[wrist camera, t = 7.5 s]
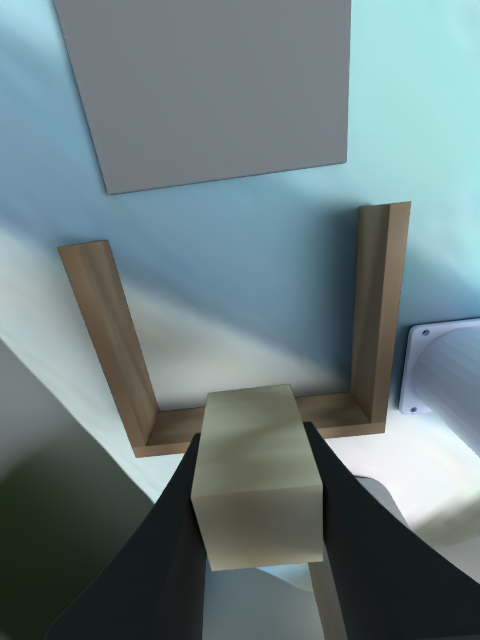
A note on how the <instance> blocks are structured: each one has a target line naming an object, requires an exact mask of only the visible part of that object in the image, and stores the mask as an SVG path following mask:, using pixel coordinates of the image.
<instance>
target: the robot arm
mask: <svg viewBox="0 0 480 640" xmlns="http://www.w3.org/2000/svg"><path fill="white" fill-rule="evenodd" d="M424 330H426V331H425V333H423V331H424ZM422 333H423V334H422ZM399 411H400V412H401V413H402V414H404V415H408V414H418V413H427V412H434V413H435V414H436V415H437V416H438V417H439V418H440V419H441V420H442V421H443V422H444V423H445V424H446V425H447V426H448V427H449V428H450V429H451V430H452V431H453V432H454V433H455V434H456V435H457V436H458V437H459V438H460V439H461V440H462V441H463V442H464V443H465V444H466V445H467V446H468V447H470V448H471V449H472V450H473V451H474V452H475V453H476V454H477V455H478V456H479V457H480V318H478V319H469V320H460V321H451V322H443V323H434V324H425V325H417V326H414V327H412V328H411V329H410V331H409V336H408V343H407V351H406V358H405V365H404V373H403V380H402V387H401V395H400V402H399ZM302 423H303V426H304V429H305V432H306V435H307V438H308V441H309V444H310V447H311V450H312V453H313V456H314V459H315V462H316V466H317V469H318V472H319V475H320V478H321V481H322V484H323V540H324V544H325V547H326V551H327V554H328V559H329V563H330V567H331V571H332V575H333V579H334V583H335V587H336V591H337V596H338V600H339V604H340V608H341V612H342V617H343V621H344V625H345V629H346V634H347V638H348V640H480V584H479V583H477V582H476V581H475V580H473V579H472V578H471V577H469V576H468V575H466V574H465V573H464V572H462V571H461V570H460V569H458V568H457V567H456V566H454V565H453V564H452V563H450V562H449V561H448V560H446V559H445V558H444V557H443V556H441V555H440V554H439V553H438V552H436V551H435V550H434V549H433V548H431V547H430V546H429V545H428V544H426V543H425V542H424V541H423V540H422V539H420V538H419V537H418V536H417V535H416V534H414V533H413V532H412V531H411V530H410V529H409V528H407V527H406V526H405V525H404V524H403V523H402V522H400V521H399V520H398V519H397V518H396V517H395V516H394V515H393V514H391V513H390V512H389V511H388V510H387V509H386V508H385V507H384V506H383V505H382V504H381V503H380V502H379V501H378V500H377V499H376V498H375V497H374V496H373V495H372V494H371V493H370V492H369V491H368V490H367V489H366V488H365V487H364V486H363V485H362V484H361V483H360V482H359V481H358V480H357V479H356V478H355V477H354V475H353V474H352V473H351V472H350V471H349V470H348V469H347V468H346V466H345V465H344V464H343V463H342V462H341V460H340V459H339V458H338V457H337V456H336V454H335V453H334V452H333V451H332V449H331V448H330V447H329V446H328V444H327V443H326V442H325V440H324V439H323V437H322V436H321V435H320V433H319V432H318V430H317V429H316V427H315V426H314V424H313V423H312V422H311V421H308V422H302ZM200 437H201V433H196V434H195V435H194V436H193V438H192V440H191V443H190V445H189V447H188V449H187V451H186V453H185V454H184V456H183V458H182V460H181V462H180V464H179V466H178V467H177V469H176V471H175V473H174V474H173V476H172V478H171V480H170V481H169V483H168V484H167V486H166V488H165V489H164V491H163V492H162V494H161V496H160V497H159V499H158V500H157V502H156V503H155V505H154V506H153V508H152V509H151V511H150V512H149V513H148V515H147V516H146V518H145V519H144V520H143V522H142V523H141V524H140V526H139V527H138V529H137V530H136V531H135V532H134V534H133V535H132V536H131V537H130V539H129V540H128V541H127V543H126V544H125V545H124V546H123V548H122V549H121V550H120V551H119V552H118V554H117V555H116V556H115V557H114V558H113V559H112V560H111V562H110V563H109V564H108V565H107V566H106V567H105V568H104V570H103V571H102V572H101V573H100V574H99V575H98V576H97V578H96V579H95V580H94V581H93V582H92V583H91V584H90V585H89V586H88V587H87V589H86V590H85V591H84V592H83V593H82V594H81V595H80V596H79V597H78V598H77V599H76V600H75V601H74V602H73V603H72V604H71V605H70V606H69V607H68V608H67V609H66V610H65V611H64V612H63V613H62V614H61V615H60V616H59V617H58V618H57V620H55V621H54V622H53V623H52V624H51V625H50V627H49V629H48V631H47V633H46V634H45V636H44V638H43V640H202V627H203V626H202V625H203V603H204V585H205V568H206V556H207V552H206V548H205V545H204V541H203V538H202V535H201V531H200V528H199V524H198V521H197V517H196V514H195V510H194V507H193V504H192V500H191V492H192V486H193V480H194V474H195V468H196V462H197V456H198V450H199V443H200Z"/></svg>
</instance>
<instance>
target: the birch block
mask: <svg viewBox="0 0 480 640" xmlns="http://www.w3.org/2000/svg"><path fill="white" fill-rule="evenodd" d="M191 500H192V504H193V507H194V510H195V514H196V517H197V521H198V524H199V528H200V531H201V535H202V538H203V541H204V545H205V548H206V552H207V555H208V559H209V562H210V566H211V569H212V571H217V570H228V569H240V568H251V567H263V566H274V565H286V564H297V563H309V562H320V561H323V484H322V481H321V478H320V475H319V472H318V469H317V466H316V462H315V459H314V456H313V453H312V450H311V447H310V444H309V441H308V438H307V435H306V432H305V429H304V426H303V423H302V420H301V416H300V413H299V410H298V407H297V404H296V401H295V398H294V395H293V392H292V389H291V386H290V384H283V385H274V386H265V387H256V388H247V389H238V390H229V391H220V392H211V393H208V395H207V401H206V407H205V413H204V419H203V425H202V431H201V437H200V443H199V450H198V456H197V462H196V468H195V474H194V480H193V486H192V492H191Z"/></svg>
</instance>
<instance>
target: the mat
mask: <svg viewBox="0 0 480 640" xmlns="http://www.w3.org/2000/svg"><path fill="white" fill-rule="evenodd" d="M53 1H54V4H55V8H56V11H57V15H58V18H59V22H60V25H61V29H62V33H63V36H64V40H65V43H66V47H67V50H68V54H69V57H70V61H71V65H72V68H73V72H74V75H75V79H76V82H77V86H78V89H79V93H80V96H81V100H82V104H83V107H84V111H85V114H86V118H87V121H88V125H89V128H90V132H91V136H92V139H93V143H94V146H95V150H96V153H97V157H98V160H99V164H100V167H101V171H102V175H103V178H104V182H105V185H106V189H107V192H108V194H109V195H115V194H122V193H130V192H137V191H144V190H152V189H159V188H166V187H174V186H181V185H188V184H196V183H203V182H210V181H218V180H225V179H232V178H240V177H247V176H254V175H262V174H269V173H276V172H283V171H291V170H298V169H305V168H313V167H320V166H327V165H335V164H342V163H345V162H347V130H348V95H349V60H350V25H351V0H53Z"/></svg>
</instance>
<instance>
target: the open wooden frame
mask: <svg viewBox="0 0 480 640" xmlns="http://www.w3.org/2000/svg"><path fill="white" fill-rule="evenodd" d="M410 207H411V201H409V202H400V203H390V204H381V205H372V206H365V207H359V215H358V237H357V258H356V280H355V301H354V323H353V344H352V366H351V387H350V392H343V393H334V394H324V395H315V396H306V397H296V398H295V401H296V404H297V407H298V410H299V413H300V416H301V420H302V422H308V421H311V422H312V423H313V424H314V426H315V427H316V429H317V430H318V432H319V433H320V435H321V436H322V437H323V439H329V438H339V437H349V436H359V435H369V434H379V433H385V425H386V416H387V407H388V399H389V390H390V381H391V372H392V364H393V355H394V346H395V338H396V329H397V320H398V312H399V303H400V294H401V286H402V277H403V268H404V260H405V251H406V242H407V234H408V225H409V216H410ZM57 249H58V251H59V254H60V257H61V259H62V262H63V265H64V267H65V270H66V273H67V275H68V278H69V281H70V283H71V286H72V289H73V292H74V294H75V297H76V300H77V302H78V305H79V308H80V310H81V313H82V316H83V318H84V321H85V324H86V326H87V329H88V332H89V334H90V337H91V340H92V342H93V345H94V348H95V350H96V353H97V356H98V358H99V361H100V364H101V366H102V369H103V372H104V374H105V377H106V380H107V382H108V385H109V388H110V390H111V393H112V396H113V398H114V401H115V404H116V406H117V409H118V412H119V414H120V417H121V420H122V422H123V425H124V428H125V430H126V433H127V436H128V438H129V441H130V444H131V446H132V449H133V452H134V454H135V457H136V458H140V457H150V456H160V455H170V454H180V453H186V451H187V449H188V447H189V445H190V443H191V440H192V438H193V436H194V435H195V434H196V433H201V431H202V425H203V419H204V413H205V407H202V408H193V409H184V410H174V411H165V412H159V409H158V405H157V402H156V399H155V395H154V392H153V389H152V385H151V382H150V379H149V375H148V372H147V369H146V365H145V362H144V359H143V355H142V352H141V349H140V345H139V342H138V339H137V335H136V332H135V329H134V325H133V322H132V319H131V315H130V312H129V309H128V305H127V302H126V299H125V295H124V292H123V289H122V285H121V282H120V278H119V275H118V272H117V268H116V265H115V262H114V258H113V255H112V252H111V248H110V245H109V242H108V240H104V241H96V242H89V243H83V244H76V245H70V246H63V247H57Z"/></svg>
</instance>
